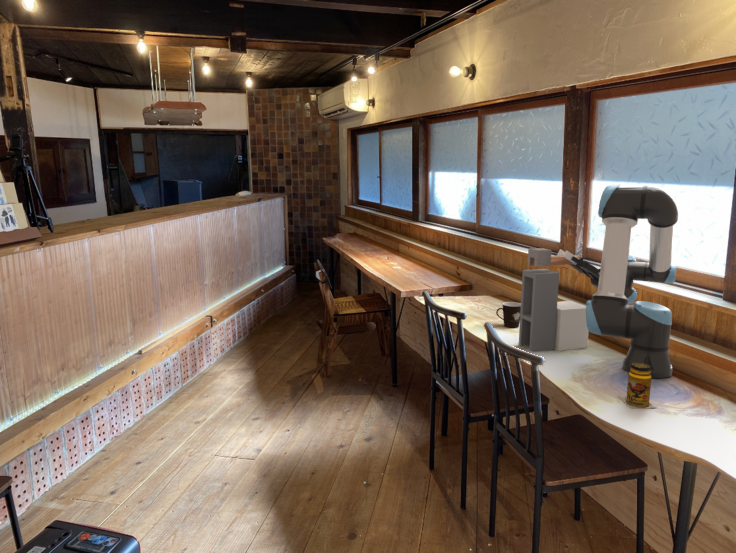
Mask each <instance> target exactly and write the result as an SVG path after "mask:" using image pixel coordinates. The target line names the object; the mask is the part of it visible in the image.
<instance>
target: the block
mask: <svg viewBox="0 0 736 553" xmlns="http://www.w3.org/2000/svg"><path fill="white" fill-rule="evenodd" d="M589 334H590V332H589V330H588V328H587V323H586V305H583V304H581V303H578V302H575V301H572V300H563V301H557V316H556V331H555V346H554V350H556V351H567V350H568V351H569V350H579V349H587V348H588V344H589V343H588V342H589Z"/></svg>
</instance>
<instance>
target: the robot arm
mask: <svg viewBox="0 0 736 553" xmlns="http://www.w3.org/2000/svg"><path fill="white" fill-rule="evenodd" d="M597 213H598V217H599V218H601V222H602V224H603V225H604V226H605V231H604V238H603V247H602V254H601V263H600V268H598V267H596V266H594V265H592V263H589V262H588V261H586V260H584V257H580V260H579V258H578V257H576V256H575V255H576V254H573V253H571V251H569V250H567V249H566V250H565V251H564V250H563V249H561V248H560V249H559V250H558V252H557V254H556V256H563V257H564V258H566V259H567V260H569V261H570V262H572V263H573V264H567V266H570V267H572V268H573V269H575V270H576V271H577V272H579V273H580V274H583V275H585V276H586V277H587V278H588V279H590V284H591V285H593V286H595V288H596V289H597V291H596V292H595V293H593V294H592V296H591V299H588V300H587V301H586V303H585V304H586V305H585V306H586V323H587V328H588V330H589V333H590V334H595V335H600V336H605V337H606V336H607V337H612V338H613V337H614V338H622V339H629V340H630V346H629V349H628V350H627V353H626V356H625V357H624V359H623V361H622V369H623V370H624V371H625V372H627V373H629V372H630V369H631V364H632V363H645V364H648V365H650V367H651V373H650V375H651V377H652V378H651V379H666V378H669V377H671V376H672V374H673V365H672V363H671V362H672V361H671V357H670V353H669V350H670V340H671V328H672V325H673V321H672V319H673V315H672V314H673V312H672V311H671V309H670V308H668V307H667V306H664V305H662V304H659V303H657V302H650V301H645V300H644V301H642V300H637V299H638V295H637V293H638V291H637V289H635V287H633V286H634V285H633V284H634V281H639V282H648V283H656V284H657V283H659V284H674V283H675V282H676V277H675V276H676V275H677V265H675V264H672V258H673V257H672V256H673V244H674V232H675V231H674V230H675V225H676V224H677V223H678V219H679V208H678V205H677V202H676V201H675V199H674V198H673V197H672V195H671V194H670V193H668V191H666V190H665V189H663V188H661V187H659V186H656V185H649V184H648V185H635V184H634V185H633V184H631V185H630V184H629V185H628V184H618V185H614V184H613V185H608V186H606V187H605V188H604V189H603V191H602V194H601V196H600V200H599V205H598V211H597ZM639 219H641V220H647V222H648V224H649V226H650V230H649V231H650V232H649V256H648V257H649V258H648V262H642V261H637V259H636V257H635V256H632V255H630V248H631V242H632V241H631V239H632V234H633V233H632V232H633V231H632V230H633V228H635V226H637V225H638V221H639ZM636 291H637V292H636ZM636 300H637V301H636Z"/></svg>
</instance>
